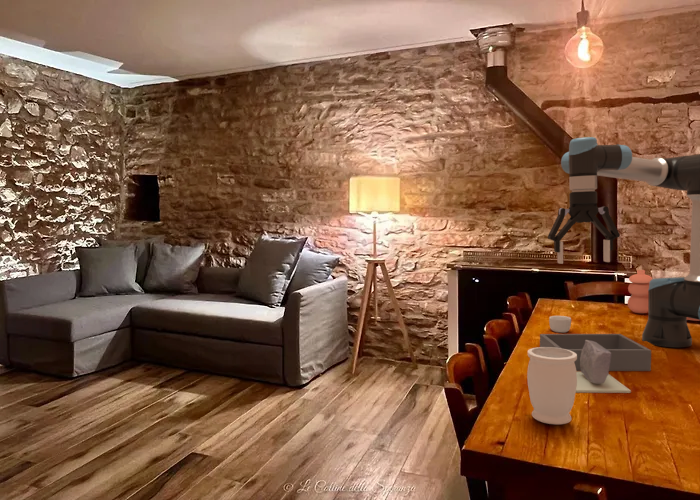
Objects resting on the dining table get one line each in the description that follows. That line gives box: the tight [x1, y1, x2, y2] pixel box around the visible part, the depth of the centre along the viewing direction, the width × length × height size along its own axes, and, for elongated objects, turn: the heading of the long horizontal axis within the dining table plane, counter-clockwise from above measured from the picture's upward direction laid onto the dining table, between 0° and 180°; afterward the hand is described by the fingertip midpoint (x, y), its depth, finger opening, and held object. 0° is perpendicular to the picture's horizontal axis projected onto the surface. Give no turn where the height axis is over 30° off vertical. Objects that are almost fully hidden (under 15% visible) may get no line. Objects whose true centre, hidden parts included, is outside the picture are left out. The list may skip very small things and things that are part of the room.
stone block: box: [580, 340, 612, 384], centre depth 145 cm, size 12×5×10 cm, turn 174°
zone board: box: [575, 371, 632, 394], centre depth 146 cm, size 16×16×1 cm
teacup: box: [548, 315, 572, 334], centre depth 206 cm, size 10×8×5 cm
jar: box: [526, 346, 578, 425], centre depth 121 cm, size 11×10×15 cm
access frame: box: [539, 333, 652, 372], centre depth 166 cm, size 25×20×6 cm
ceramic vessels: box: [627, 269, 700, 322], centre depth 233 cm, size 35×21×19 cm, turn 61°
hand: (583, 262), depth 162 cm, fingers open, 13 cm apart
